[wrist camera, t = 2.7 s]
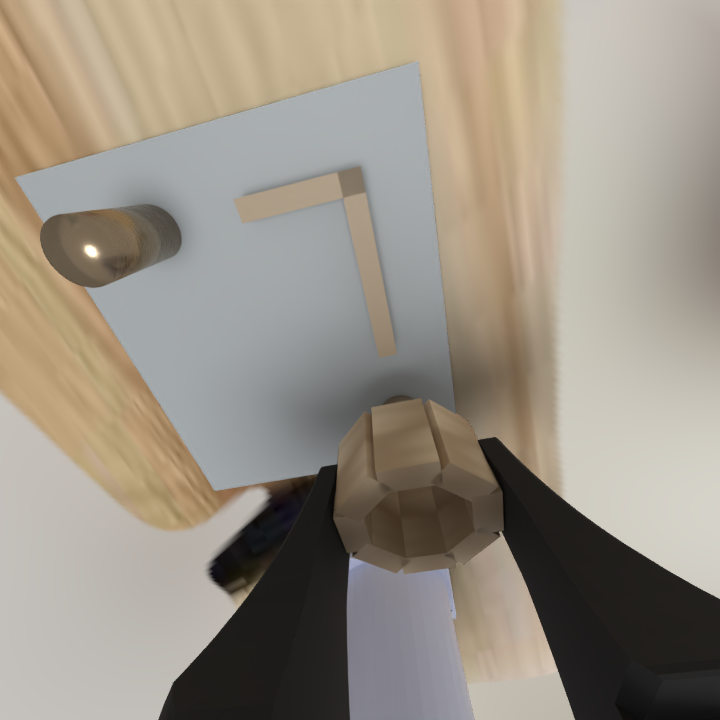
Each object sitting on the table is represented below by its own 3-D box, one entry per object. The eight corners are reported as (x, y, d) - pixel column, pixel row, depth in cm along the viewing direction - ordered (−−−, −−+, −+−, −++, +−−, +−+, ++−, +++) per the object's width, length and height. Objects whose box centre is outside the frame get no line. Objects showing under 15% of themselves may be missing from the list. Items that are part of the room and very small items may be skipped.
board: (455, 438, 17) (473, 485, 14) (220, 478, 18) (197, 529, 16) (414, 69, 10) (433, 30, 7) (35, 177, 11) (-63, 177, 9)
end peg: (190, 253, 12) (131, 279, 9) (144, 264, 12) (70, 294, 9) (165, 198, 11) (90, 206, 8) (116, 211, 11) (24, 224, 8)
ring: (476, 488, 14) (504, 560, 11) (358, 507, 14) (358, 580, 12) (468, 389, 11) (501, 451, 9) (326, 415, 12) (318, 481, 9)
